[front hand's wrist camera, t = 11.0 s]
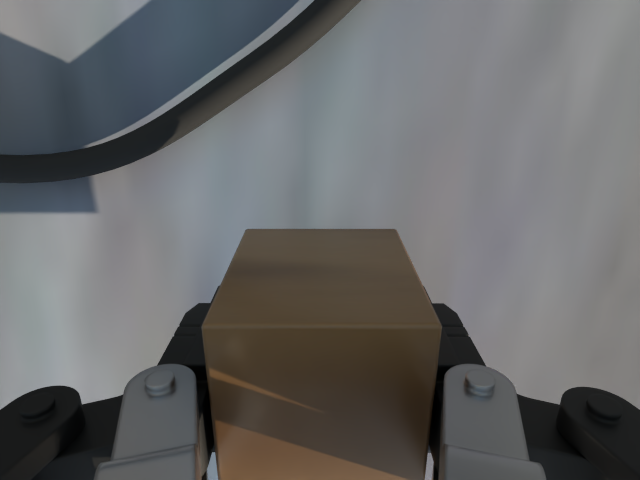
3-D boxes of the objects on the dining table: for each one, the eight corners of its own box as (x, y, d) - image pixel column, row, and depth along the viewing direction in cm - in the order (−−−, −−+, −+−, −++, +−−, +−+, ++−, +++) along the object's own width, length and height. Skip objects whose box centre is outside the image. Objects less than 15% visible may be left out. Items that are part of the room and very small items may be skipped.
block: (387, 373, 14) (420, 525, 9) (254, 373, 14) (221, 525, 9) (397, 227, 12) (444, 325, 7) (245, 227, 12) (199, 325, 7)
